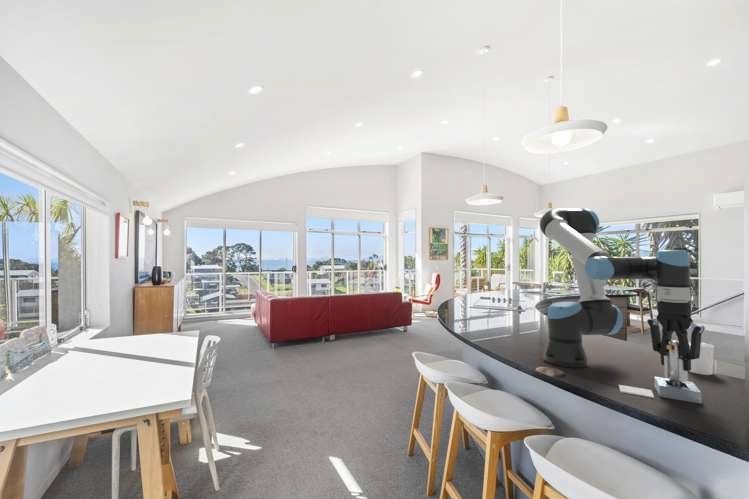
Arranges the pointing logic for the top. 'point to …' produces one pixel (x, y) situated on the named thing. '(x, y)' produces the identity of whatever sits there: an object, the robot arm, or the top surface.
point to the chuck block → (678, 390)
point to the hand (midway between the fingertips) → (676, 378)
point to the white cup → (703, 360)
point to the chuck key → (674, 362)
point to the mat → (636, 391)
